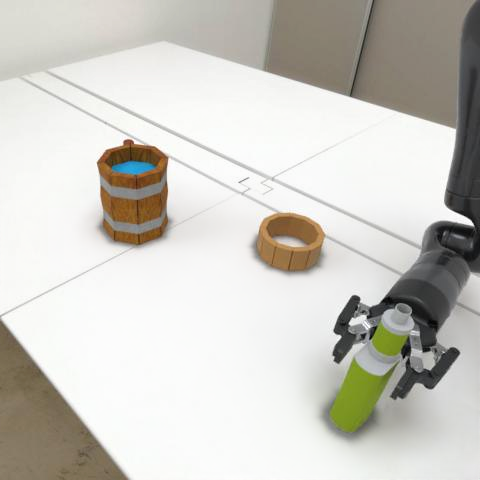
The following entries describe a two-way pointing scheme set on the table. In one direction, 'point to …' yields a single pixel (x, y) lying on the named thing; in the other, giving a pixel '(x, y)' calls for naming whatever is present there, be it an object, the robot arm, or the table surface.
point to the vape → (372, 370)
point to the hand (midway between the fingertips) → (365, 375)
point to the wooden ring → (288, 255)
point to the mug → (134, 192)
